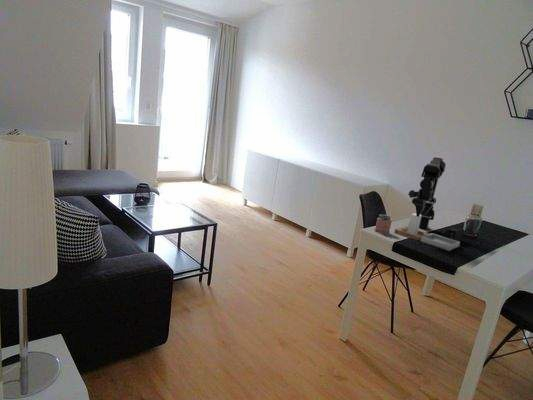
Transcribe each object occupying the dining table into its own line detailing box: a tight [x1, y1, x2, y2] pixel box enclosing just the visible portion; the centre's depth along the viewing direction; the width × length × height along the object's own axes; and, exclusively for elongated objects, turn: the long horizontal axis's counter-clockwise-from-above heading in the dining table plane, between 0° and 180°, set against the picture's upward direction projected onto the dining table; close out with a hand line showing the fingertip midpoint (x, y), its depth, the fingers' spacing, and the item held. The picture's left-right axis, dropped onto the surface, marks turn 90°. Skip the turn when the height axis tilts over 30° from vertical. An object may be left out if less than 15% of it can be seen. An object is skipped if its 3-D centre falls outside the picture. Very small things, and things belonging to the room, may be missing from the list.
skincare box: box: [406, 213, 422, 236], centre depth 207 cm, size 6×4×12 cm
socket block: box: [394, 226, 430, 241], centre depth 208 cm, size 14×14×2 cm
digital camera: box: [444, 226, 465, 242], centre depth 208 cm, size 10×5×7 cm, turn 128°
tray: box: [420, 232, 461, 252], centre depth 198 cm, size 15×15×3 cm
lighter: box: [374, 213, 393, 235], centre depth 205 cm, size 8×3×10 cm, turn 84°
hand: (420, 215), depth 204 cm, fingers open, 8 cm apart
